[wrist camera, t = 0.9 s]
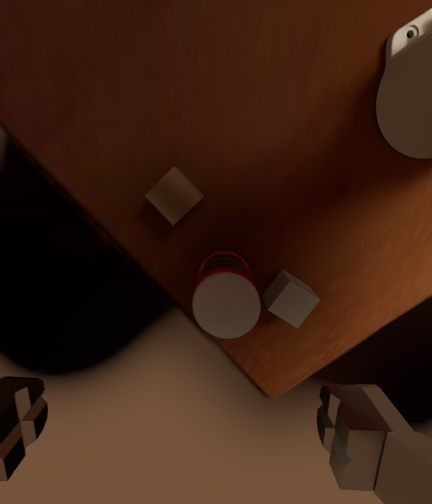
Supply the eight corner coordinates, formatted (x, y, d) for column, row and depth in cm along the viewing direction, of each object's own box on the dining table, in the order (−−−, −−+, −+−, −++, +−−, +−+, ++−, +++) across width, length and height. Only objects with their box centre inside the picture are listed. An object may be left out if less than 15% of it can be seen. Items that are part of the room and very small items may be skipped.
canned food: (221, 308, 43) (221, 351, 32) (188, 270, 42) (176, 301, 31) (261, 279, 42) (275, 314, 31) (228, 238, 40) (231, 260, 30)
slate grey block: (281, 268, 41) (290, 280, 37) (308, 286, 42) (320, 300, 37) (262, 295, 43) (267, 310, 38) (288, 311, 43) (297, 328, 38)
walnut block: (179, 168, 38) (173, 166, 33) (204, 195, 39) (202, 198, 34) (153, 193, 39) (144, 195, 34) (178, 220, 40) (173, 225, 35)
